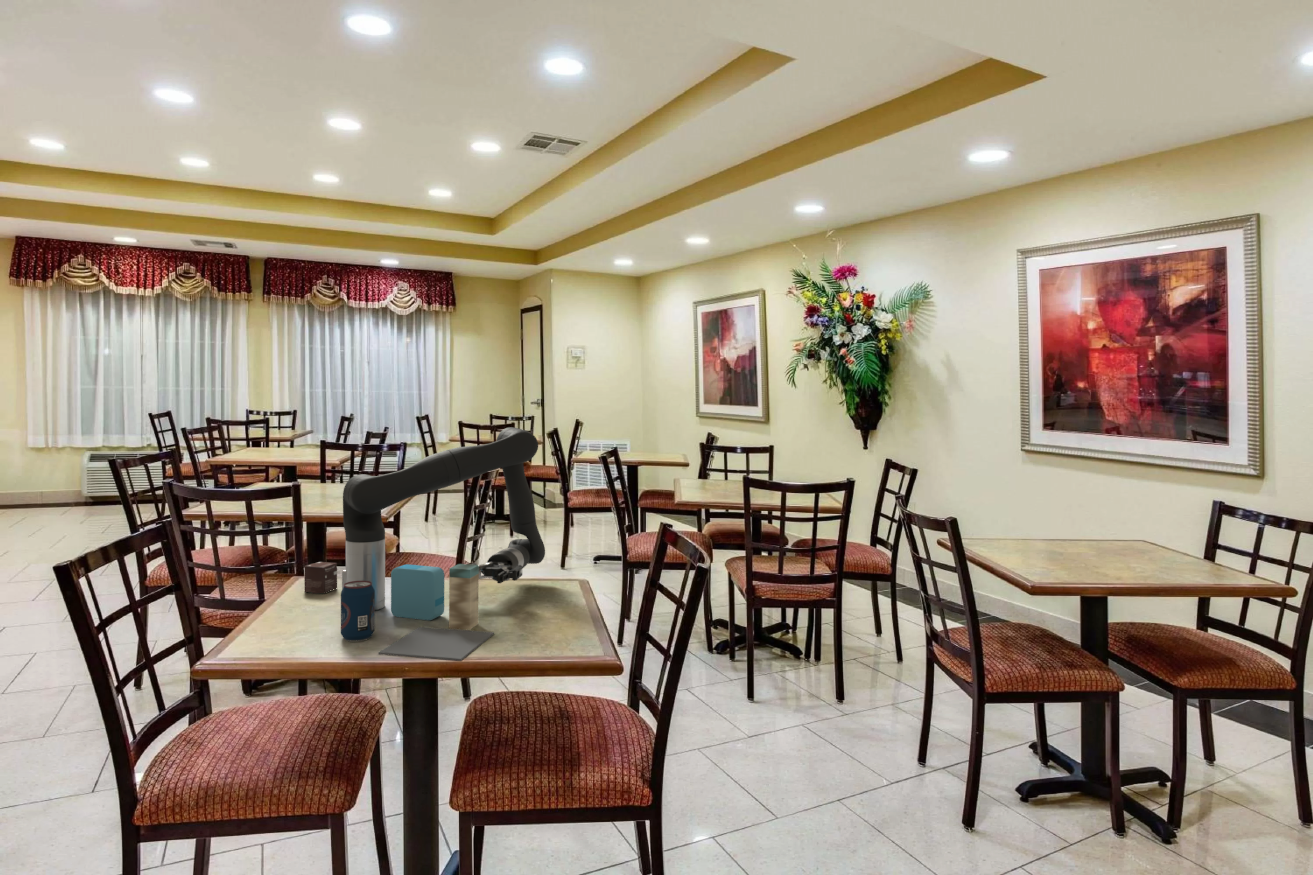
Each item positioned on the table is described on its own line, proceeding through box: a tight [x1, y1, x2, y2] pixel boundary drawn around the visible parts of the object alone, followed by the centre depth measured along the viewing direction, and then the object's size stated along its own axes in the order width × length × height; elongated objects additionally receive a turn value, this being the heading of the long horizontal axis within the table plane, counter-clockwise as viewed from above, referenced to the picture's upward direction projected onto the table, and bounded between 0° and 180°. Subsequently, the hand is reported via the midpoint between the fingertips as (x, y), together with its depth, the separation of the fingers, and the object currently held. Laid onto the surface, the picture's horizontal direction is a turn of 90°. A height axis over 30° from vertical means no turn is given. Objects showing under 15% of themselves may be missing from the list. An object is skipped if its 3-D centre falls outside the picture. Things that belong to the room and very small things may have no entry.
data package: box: [390, 563, 445, 621], centre depth 185 cm, size 12×4×12 cm, turn 74°
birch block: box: [448, 563, 480, 631], centre depth 178 cm, size 5×5×14 cm
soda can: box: [340, 581, 376, 642], centre depth 168 cm, size 7×7×12 cm
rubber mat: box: [378, 626, 495, 662], centre depth 165 cm, size 18×18×1 cm
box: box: [304, 561, 338, 594], centre depth 207 cm, size 6×6×7 cm
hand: (482, 578), depth 188 cm, fingers open, 8 cm apart
